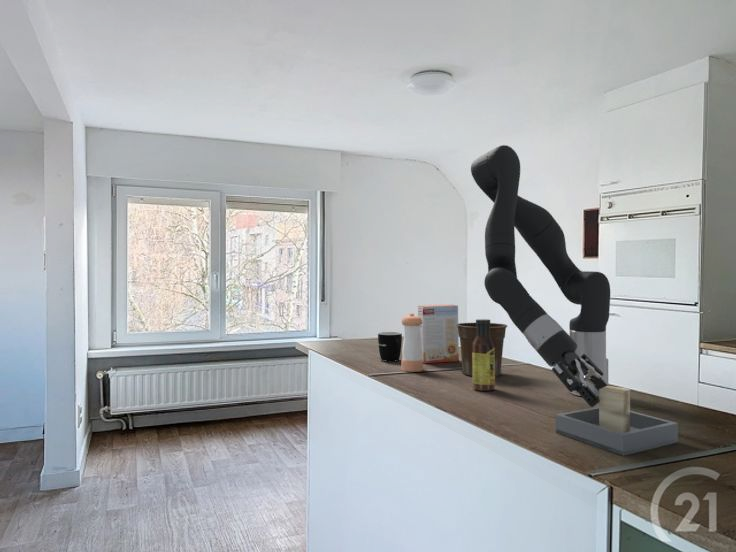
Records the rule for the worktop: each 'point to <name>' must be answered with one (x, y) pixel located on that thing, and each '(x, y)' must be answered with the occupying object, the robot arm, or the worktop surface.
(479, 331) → the sauce bottle
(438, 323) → the cracker box
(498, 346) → the plant pot
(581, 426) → the box
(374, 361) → the worktop surface
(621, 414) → the maple block
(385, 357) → the mug
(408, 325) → the pepper shaker
